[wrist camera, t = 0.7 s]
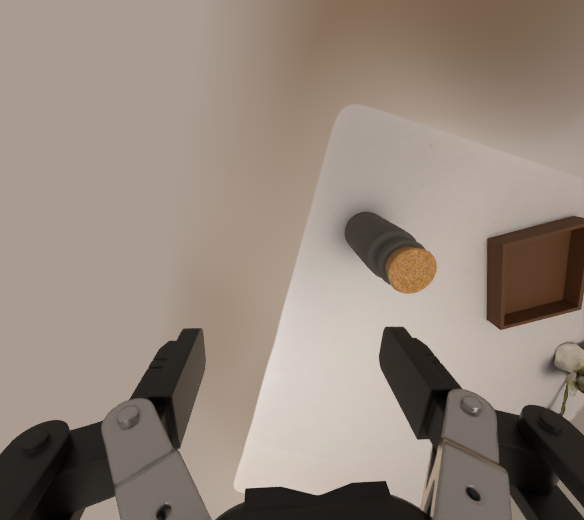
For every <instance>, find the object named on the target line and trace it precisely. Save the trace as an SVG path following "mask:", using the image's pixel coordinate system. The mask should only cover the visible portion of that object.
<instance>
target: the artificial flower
mask: <svg viewBox="0 0 584 520" xmlns="http://www.w3.org/2000/svg"><path fill="white" fill-rule="evenodd" d="M567 343H569V344H563V345H560V346H559V347H558V348H557V349H556V352H555V355H556V358H555V361H554V364H555V366H556V367H558V368H559V369H562V370H565V371H567V372H569V373H568V374H569V375H568V376H567V377H566V383H567V385H566V390H565V393H564V402H563V406H562V408H561V413H560V414H559V415H561V416H562V415H563V414H564V411H565V402H566V400H567V397H568V391H569V394H570V395H572V396H575V393H576V391H577V389H579V390H580V391H581V392H582V393H584V350H583V349H582V348H580V347H579V346H578V345H577V344H570V342H567Z"/></svg>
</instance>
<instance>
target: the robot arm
mask: <svg viewBox="0 0 584 520" xmlns="http://www.w3.org/2000/svg"><path fill="white" fill-rule="evenodd" d="M205 361H206V359H205V347H204V336H203V330H202V329H201V328H191V329H183V330H182V332H181V333H180V335H179V337H178V339H177V341H169V342H167V343H166V344H165V345H164V346H163V347H161V348H160V349H159V351H158V352H157V354H156V356H155V358H154V360H153V361H152V362H151V364H150V366H149V369H147V371H146V372H145V374H144V376H143V377H142V379H141V381H140V383H139V384H138V386H137V388H136V389H135V391H134V393H133V394H132V396H131V398H130V399H129V400H128V401H125V402H123V403H121V404H119V405H118V406H116V407H115V408H113V409H112V410H111V411H110V412H109V413H108V414H107V416H106V417H105V419H104V420H103V421H101V422H98V423H95V424H91V425H88V426H85V427H81V428H78V429H74V430H71V431H70V429H69V427H68V425H67V423H66V422H64V421H60V420H52V421H47V422H43V423H41V424H38V425H36V426H33V427H31V428H30V429H28V430H26V431H25V432H23V433H22V434H20V435H19V436H18V437H16V438H15V439H14V440H13V441H12V442H11V443H10V444H9V445H8V446H7V447H6V448H5V450H4V451H3V452H2V453H1V454H0V520H80V518H81V516H82V514H83V512H84V510H85V508H86V507H88V506H91V505H93V504H96V503H99V502H101V501H104V500H106V499H109V498H111V497H114V496H115V497H116V501H117V506H118V510H119V514H120V519H121V520H212V519H211V517H210V515H209V513H208V511H207V509H206V507H205V505H204V502H203V500H202V498H201V496H200V495H199V492H198V490H197V488H196V486H195V484H194V481H193V479H192V477H191V475H190V473H189V471H188V469H187V467H186V464H185V462H184V460H183V458H182V456H181V454H180V452H179V451H178V449H179V448H180V447H181V443H182V440H183V437H184V434H185V431H186V428H187V424H188V422H189V418H190V415H191V412H192V409H193V406H194V403H195V399H196V396H197V393H198V390H199V387H200V384H201V381H202V377H203V374H204V370H205ZM379 362H380V367H381V370H382V372H383V374H384V376H385V378H386V379H387V381H388V383H389V385H390V387H391V389H392V391H393V393H394V395H395V397H396V399H397V401H398V403H399V405H400V407H401V409H402V411H403V413H404V414H405V416H406V418H407V420H408V422H409V424H410V426H411V428H412V430H413V432H414V434H415V436H416V438H417V439H430V441H431V443H432V444H433V445H432V448H431V452H430V458H429V463H428V469H427V475H426V480H425V486H424V491H423V497H422V502H421V506H420V509H419V508H418V507H416V506H415V505H413V504H412V503H410V502H408V501H406V500H404V499H402V498H399V497H396V496H394V495H390V492H389V489H388V486H387V484H386V481H379V482H360V483H351V484H348V485H346V486H343V487H340V488H338V489H335V490H333V491H330V492H328V493H325V494H322V495H312V494H308V493H304V492H300V491H296V490H292V489H288V488H284V487H268V488H250V489H246V490H245V502H243V503H241V504H238V505H236V506H234V507H232V508H230V509H229V510H227V511H226V512H224V513H223V514H222V515H220V516H219V517H218V518H217V519H216V520H512V514H511V502H510V495H511V497H512V498H513V499H514V501H515V503H516V504H517V506H518V507H519V509H520V510H521V512H522V513H523V515H524V516H525V518H526V519H527V520H584V518H583V517H582V515H581V514H580V513H579V512H578V511H577V509H576V508H575V507H574V506H573V504H572V503H571V502H570V501H569V499H568V498H567V497H566V496H565V495H564V493H563V492H562V491H561V490H560V488H559V487H558V486H557V483H558V481H559V479H560V480H561V481H562V482H563V483H564V485H565V486H566V487H567V488H568V489H569V491H570V492H571V493H572V494H573V495H574V496H575V498H576V499H577V500H578V501H579V502H580V503H581V505H582V506H583V508H584V435H583V434H582V433H581V432H580V431H579V430H577V428H575V427H574V426H573V425H572V424H571V423H570V422H569V421H568V420H566V419H565V418H564V417H562V416H561V415H559V414H557V413H555V412H554V411H551V410H549V409H547V408H544V407H541V406H536V405H528V406H525V407H524V408H523V409H522V412H521V414H520V415H515V414H511V413H507V412H502V411H498V410H494V408H493V407H492V406H491V405H490V403H488V402H487V401H486V400H485V399H484V398H482V397H481V396H479V395H477V394H476V393H473V392H471V391H468V390H464V389H462V388H461V387H460V385H459V384H458V383H457V382H456V381H455V379H454V378H453V377H452V376H451V374H450V373H449V372H448V371H447V370H446V368H445V367H444V366H443V365H442V363H441V364H440V361H439V360H438V359H437V357H436V356H434V354H433V353H432V351H431V350H430V349H429V348H428V346H427V345H425V344H424V343H422V342H421V341H420V340H418V339H417V338H412V337H411V336H410V334H409V333H408V332H407V330H406V329H405V328H404V327H385V329H384V331H383V337H382V342H381V348H380V354H379Z"/></svg>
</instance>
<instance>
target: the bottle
mask: <svg viewBox="0 0 584 520" xmlns="http://www.w3.org/2000/svg"><path fill="white" fill-rule="evenodd" d="M345 238H346V240H347V242H348V244H349V245H350V247H351V248H352V249H353V250H354V251H355V253H356V254H357V255H358V256H359V257H360V258H361V260H362V261H363V262H364V263H365V264H366V266H367V267H368V268H369V269H370V270H371V271H372V272H373V273H374V274H375V275H377V276H378V277H380V278H382V279H383V280H384V281H385V282H387V283H388V284H390V285H391V286H392V287H393V288H394V289H395V290H397V291H399V292H402V293H415V292H418V291H420V290H422V289H424V288H425V287H426V286H427V285H429V284H430V282H431V281H432V280H433V278H434V276H435V273H436V268H437V266H436V261H435V258H434V257H433V255H432V254H431V253H430V252H428V251H427V250H425V248H424V247H423V246H422V245H421V244H419V243H418V242H416V240H415V238H414V237H413V236H412V235H410V234H409V233H408V232H406V231H404V230H403V229H401V228H399V227H398V226H396V225H394V224H392V223H390V222H389V221H387V220H385V219H383V218H382V217H380V216H378V215H376V214H374V213H370V212H362V213H359V214H357V215H355V216H354V217H352V218H351V219H350V221H349V222H348V224H347V226H346V229H345Z"/></svg>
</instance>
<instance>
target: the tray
mask: <svg viewBox="0 0 584 520" xmlns="http://www.w3.org/2000/svg"><path fill="white" fill-rule="evenodd" d="M583 294H584V218H581V217H576V216H572V217H568V218H564V219H561V220H557V221H553V222H549V223H545V224H542V225H538V226H534V227H530V228H527V229H523V230H519V231H515V232H512V233H508V234H504V235H500V236H497V237H493V238H489V239H488V276H487V320H488V321H490V322H491V323H492V324H493V325H495V326H496V327H497V328H499V329H500V330H502V329H506V328H510V327H514V326H518V325H522V324H526V323H530V322H534V321H537V320H541V319H545V318H549V317H553V316H557V315H561V314H565V313H569V312H573V311H577V310H581V306H582V301H583Z"/></svg>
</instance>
